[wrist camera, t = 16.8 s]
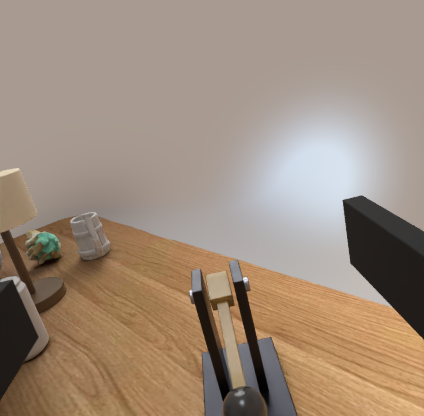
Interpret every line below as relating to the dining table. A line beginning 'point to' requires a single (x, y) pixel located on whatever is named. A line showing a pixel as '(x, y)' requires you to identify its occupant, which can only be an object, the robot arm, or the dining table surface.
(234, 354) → the lamp switch
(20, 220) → the lamp
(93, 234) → the mug
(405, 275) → the robot arm
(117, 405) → the dining table surface
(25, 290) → the beverage can
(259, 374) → the switch bracket
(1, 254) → the decorative ball
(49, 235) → the scepter
